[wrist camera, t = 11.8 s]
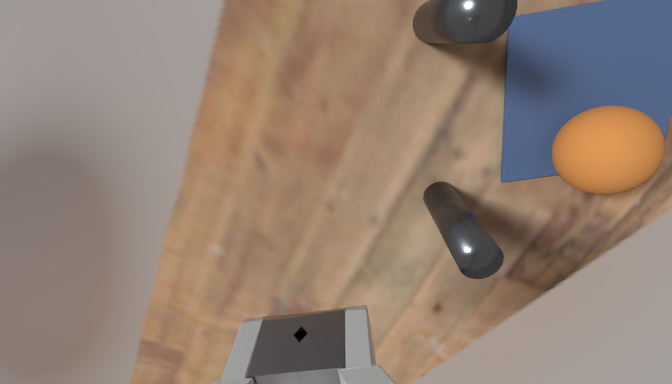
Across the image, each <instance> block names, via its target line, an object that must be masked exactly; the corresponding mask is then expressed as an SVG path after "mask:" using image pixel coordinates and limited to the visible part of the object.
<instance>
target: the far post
mask: <svg viewBox="0 0 672 384" xmlns="http://www.w3.org/2000/svg"><path fill="white" fill-rule="evenodd" d="M423 199H424V202H425V204H426V206H427V208H428V210H429V212H430V214H431V216H432V218H433V220H434V222H435V224H436V225H437V227H438V229H439V231H440V233H441V235H442V237H443V239H444V241H445V243H446V245H447V246H448V248H449V250H450V252H451V254H452V256H453V258H454V260H455V262H456V264H457V266H458V267H459V269H460V271H461V272H462V274H464V275H465V276H467V277H469V278H473V279H482V278H486V277H489V276H491V275H493V274H494V273H495V272H497V271H498V270H499V268H500V267H501V265H502V263H503V259H504V256H503V252H502V250H501V249H500V247H499V246H498V245H497V244H496V242H495V241H494V240H493V238H492V237H491V236H490V235H489V233H488V232H487V231H486V229H485V228H484V227H483V226H482V224H481V223H480V222H479V220H478V219H477V218H476V217H475V215H474V214H473V213H472V211H471V210H470V209H469V208H468V206H467V205H466V204H465V202H464V201H463V200H462V199H461V197H460V196H459V195H458V193H457V192H456V191H455V189H454V188H453V187H452V186H451V185H450V184H448V183H446V182H436V183H433V184H432V185H430V186H429V187H428V188H427V189H426V190H425V192H424V196H423Z"/></svg>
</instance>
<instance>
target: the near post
mask: <svg viewBox="0 0 672 384" xmlns="http://www.w3.org/2000/svg"><path fill="white" fill-rule="evenodd" d="M516 10H517V0H429V1H427V2H425V3H424V4H422V5H421V6H420V7H419V8H418V10H417V11H416V13H415V16H414V19H413V29H414V32H415V34H416V36H417V37H418V38H419V39H420V40H421V41H423V42H425V43H487V42H490V41H493V40H495V39H497V38H498V37H500V36H501V35H502V34H503V33H504V32H505V31H506V30H507V29H508V28H509V26H510V25H511V23H512V21H513V19H514V17H515V14H516Z"/></svg>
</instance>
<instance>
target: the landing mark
mask: <svg viewBox="0 0 672 384" xmlns="http://www.w3.org/2000/svg"><path fill="white" fill-rule="evenodd" d="M611 105H612V106H624V107H629V108H633V109H636V110H638V111H641V112H643V113H644V114H646V115H648V116H649V117H650V118H651V119H653V120H654V121H655V123H656V124H657V125H658V126H659V128H660V129H661V131H662V133H663V136H664V140H665V137H666V133H667V129H668V125H669V121H670V117H671V113H672V0H605V1H599V2H594V3H588V4H582V5H577V6H571V7H565V8H560V9H554V10H549V11H543V12H537V13H532V14H526V15H520V16H515V17H514V19H513V21H512V23H511V25H510V26H509V28H508V34H507V56H506V79H505V101H504V124H503V146H502V169H501V182H509V181H516V180H523V179H530V178H538V177H545V176H552V175H559V174H558V173H557V171H556V169H555V167H554V165H553V162H552V145H553V142H554V139H555V137H556V135H557V133H558V132H559V130H560V129H561V128H562V127H563V125H564V124H565V123H566V122H568V121H569V120H570V119H571V118H573V117H574V116H576V115H578V114H580V113H582V112H584V111H586V110H589V109H592V108H596V107H601V106H611Z"/></svg>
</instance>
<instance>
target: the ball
mask: <svg viewBox="0 0 672 384" xmlns="http://www.w3.org/2000/svg"><path fill="white" fill-rule="evenodd" d="M664 153H665V140H664V136H663V133H662V131H661V129H660V128H659V126H658V125H657V124H656V123H655V121H654V120H653V119H651V118H650V117H649V116H648V115H646V114H644V113H643V112H641V111H638V110H636V109H633V108H629V107H624V106H612V105H611V106H601V107H596V108H592V109H589V110H586V111H584V112H582V113H580V114H578V115H576V116H574V117H573V118H571V119H570V120H569V121H568V122H566V123H565V124H564V125H563V127H562V128H561V129H560V130H559V132H558V133H557V135H556V137H555V139H554V142H553V145H552V162H553V165H554V167H555V169H556V171H557V173H558V174H559V176H560V177H561V178H562V179H563V180H564V181H565V182H567V183H568V184H570V185H571V186H573V187H575V188H577V189H579V190H582V191H585V192H588V193H594V194H614V193H619V192H624V191H627V190H630V189H632V188H634V187H637V186H638V185H640V184H642V183H643V182H645V181H646V180H647V179H649V178H650V177H651V176H652V175H653V174H654V173H655V172H656V170H657V169H658V167H659V166H660V164H661V162H662V160H663V157H664Z"/></svg>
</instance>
